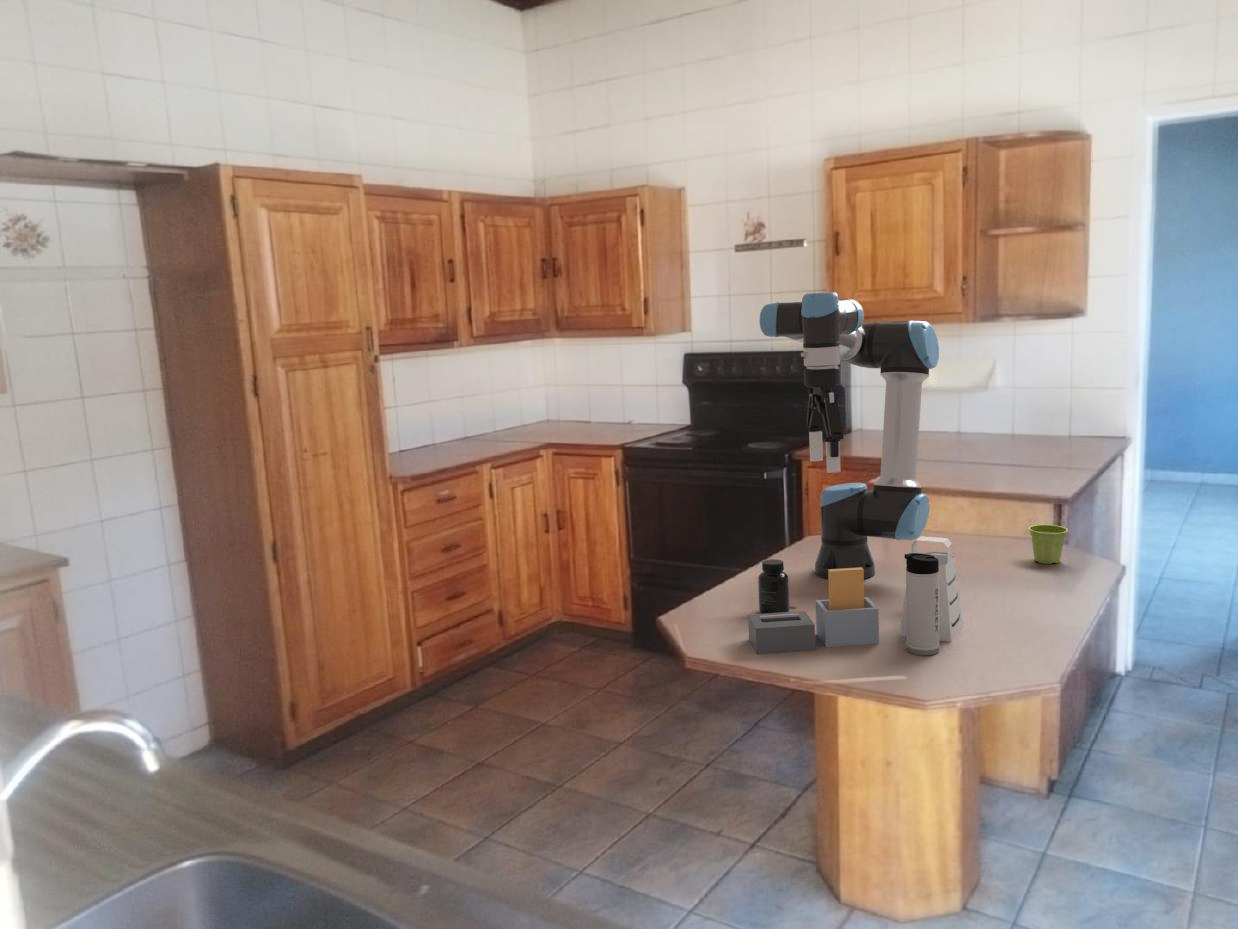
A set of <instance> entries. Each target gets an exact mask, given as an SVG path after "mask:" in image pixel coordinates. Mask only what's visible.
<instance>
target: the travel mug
mask: <svg viewBox="0 0 1238 929" xmlns="http://www.w3.org/2000/svg"><path fill="white" fill-rule="evenodd" d="M904 559H906V563H905V564H906V568H905V572H906V573H905V585H906V586H905V592H906V635H907V636H906V650H907V652H908V653H910V654H912V655H915V656H923V657H924V656H925V657H926V656H934V655H936V654H938V653H939V651H940V640H939V567H938V566H939V560H938V559H937V558H935V557H934V556H932V555H927V554H925V553H922V554H921V553H919V552H917V553H912V552H911V553H910V552H909V553H905V554H904Z"/></svg>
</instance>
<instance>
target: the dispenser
mask: <svg viewBox="0 0 1238 929" xmlns="http://www.w3.org/2000/svg"><path fill="white" fill-rule="evenodd" d="M747 615H748V616H747V617H748V618H747V621H748V623H747V624H748V640H749V642H750V645H751V646H752V649H753V650H754V652H755V654H756V655H767V654H781V653H798V652H809V651H810V652H811V651H816V623H815V622H814V621H813V620H812V619H811V617H810V615H809V614H807V613H806V611H805V610H800V611H789V612H781V613H765V614H761V613H754V614H753V613H752V614H747Z"/></svg>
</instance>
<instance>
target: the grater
mask: <svg viewBox="0 0 1238 929" xmlns="http://www.w3.org/2000/svg"><path fill="white" fill-rule="evenodd" d="M917 541H920V542H921V541H923V542H931V543H933V542H934V543H943V545H945V547H947V553H948V556H945V555H933V554H927V555H932V556H934V557H935V558H937V559H938V560H939V566H938V567H939V642H940V641H942V642H949V643H952V642H953V641H954V639H955V638H956V636H958V635H959V633H960V632H961V630H962V629H963V628H964V620H963V613H962V612H963V611H962V605H961V599H960V592H959V583H958V577H957V569H956V568H957V567H956V560H955V556H953V548H952V547H953V542H951V540H950V539H949V538H947V537H946V538H945V537H935V536H922V535H920V536H919V537H918V538H916V540H915V541H913V542H912V543H911V553H918V552H917ZM921 554H923V553H921ZM904 595H905V596H904V599H903V600H904V601H903V609H902V618H901V627H900V634H899V635H900V636H902V637H907V635H906V591H905V594H904ZM962 627H963V628H962ZM961 628H962V629H961ZM958 632H959V633H958Z"/></svg>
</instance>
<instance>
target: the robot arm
mask: <svg viewBox="0 0 1238 929" xmlns="http://www.w3.org/2000/svg"><path fill="white" fill-rule="evenodd" d="M801 298H802V299H801V301H796V302H795V301H793V302H778V301H777V302H773V303H767V304H765V305H764V306H763V307H762V309H760V313H759V328H760V330H761V332H762V334H763V335H764V336H766V337H770V338H771V337H772V338H778V337H779V338H781V337H782V338H783V337H784V338H789V339H790V340H793V341H796V342H799V343H803V344H802V348H803V352H800V356H801V358H803V366H804V367H806V368H805V369H804V370H803V383H804V384H803V385H804V386H805V387H807V388H808V402H807V411H806V412H807V413H806V422H805V427H807V429H808V434H809V435H808V437H809V438H808V439H809V442H808V444H809V461H810V462H821V461H822V462H823V461H824V449H823V448H824V446H823V444H824V443H825V453H826V454H825V455H826V457H825V458H826V473H827V474H828V473H829V474H830V473H841V471H842V467H841V440H843V439H844V434H843V427H842V421H841V415H840V408H839V407H840V406H839V398H838V395H839V394H838V392H833V390H832V389H833V388H832V387H836V386H840V385H841V382H842V381H841V368H840V367H839V366H838V365H841V362H844V363H847V364H851V365H853V366H857V367H861V368H866V369H880V371H879V372H880V376H881V377H882V379H883V380H884V381H885V394H884V396H885V397H884V409H883V410H884V411H883V427H882V428H883V429H882V443H881V444H882V445H881V459H880V475H879V476H880V477H879V478H878V479H877V480H875V482H874V483H873V490H869V489H868V486H867V484H866V483H863V482H847V483H841V484H835V485H832V486H828V487H825V488H824V489H823V490H822V491H821V493H820V504H819V508H820V535H821V537H820V538H821V541H820V542H821V543H820V547H819V551H818V554H817V556H816V561H815V564H814V573H815V575H817V576H818V577H820V578H823V577H825V578H824V579H827V578H828V569H843V568H859V567H862V568H863V569H864V580H865V579H868V578H871V577H873V576H874V575H875V574H876V568H875V566H876V565H875V562H874V559H873V556H872V553H871V550H870V547H869V544H868V537H872V538H882V539H888V540H889V539H891V540H896V541H902V540H903V541H914V540H917V539H918V538H919V537H920V536H922V533H923V532H924V530H925V529H926V527H927V523H928V519H929V517H930V516H929V515H930V506H931V505H930V498H929V497H928V495H927V494H925V493H922V491H923V486H922V485H921V483H919V481H918V480H917V470H918V452H919V439H920V438H919V437H920V436H919V435H920V419H921V404H922V390H923V389H922V388H923V383H924V381H926V379H928V378H929V376H930V370H932V369H934V368H936V367H937V365H938V363H939V359H940V358H939V357H940V349H939V348H940V347H939V341H938V337H937V333H936V331H935V329H934V327H933V326H932V324H930V323H929V322H928V321H923V320H922V321H921V320H910V319H909V320H903V321H902V320H901V321H883V322H882V321H880V322H879V321H878V322H877V321H873V322H864V320H865V312H864V311H865V310H864V309H863V307H862V305H861V304H860V303H859V302H858V301H857V300H854V299H852V298H851V299H849V298H841V299H839V295H838V293H836V292H835V291H825V292H824V291H823V292H811V293H805V294H804V295H803V296H802V297H801ZM822 423H823V424H822ZM824 430H825V435H826V437H825V438H824V440H823V431H824ZM823 442H824V443H823Z"/></svg>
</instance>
